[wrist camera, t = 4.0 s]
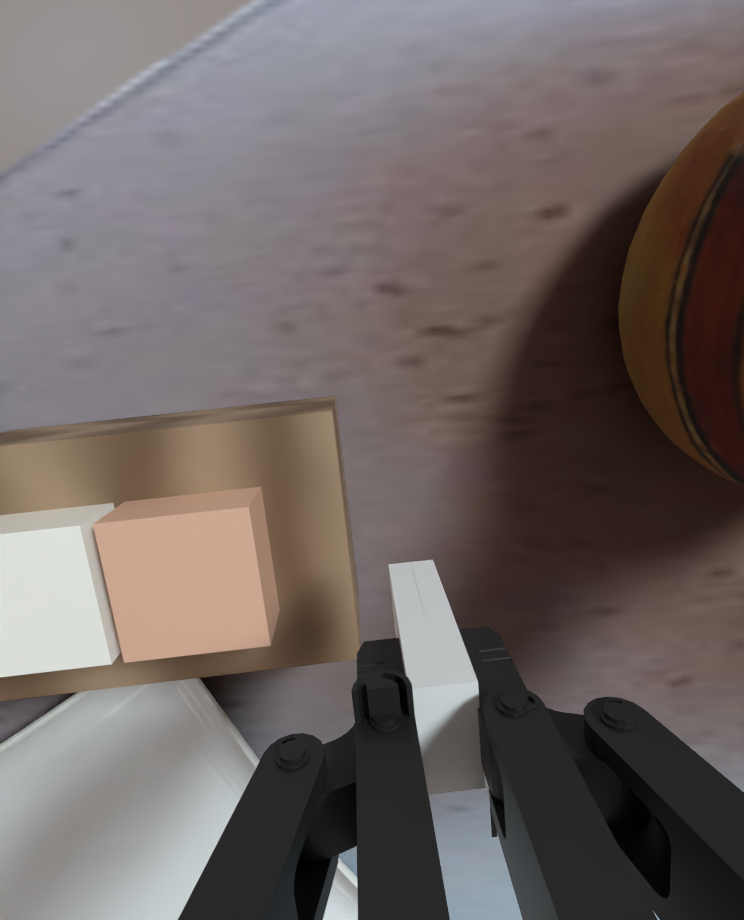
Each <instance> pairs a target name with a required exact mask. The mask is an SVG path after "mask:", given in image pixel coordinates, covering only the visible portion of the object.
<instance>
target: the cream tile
mask: <svg viewBox="0 0 744 920" xmlns="http://www.w3.org/2000/svg"><path fill="white" fill-rule="evenodd" d="M114 509H115V508H114V504H113V503H108V504H99V505H90V506H81V507H71V508H62V509H53V510H44V511H35V512H26V513H17V514H7V515H0V677H8V676H16V675H25V674H34V673H42V672H51V671H59V670H68V669H76V668H85V667H94V666H102V665H111V664H112V663H113V662H114V661H115V659H116V658H117V657H118V655H119V654H120V653H121V647H120V643H119V638H118V634H117V629H116V625H115V620H114V616H113V612H112V607H111V603H110V598H109V594H108V589H107V585H106V581H105V576H104V572H103V567H102V563H101V558H100V554H99V550H98V545H97V541H96V536H95V532H94V527H93V524H94V523H95V522H96V521H98V520H99V519H101V518H102V517H104V516H105V515H106V514H108V513H109V512H111V511H112V510H114Z"/></svg>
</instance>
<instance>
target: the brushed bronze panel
mask: <svg viewBox="0 0 744 920" xmlns="http://www.w3.org/2000/svg"><path fill="white" fill-rule="evenodd" d="M254 487H261V490H262V496H263V503H264V509H265V516H266V523H267V529H268V536H269V542H270V549H271V556H272V562H273V569H274V575H275V582H276V589H277V595H278V602H279V608H280V611H279V615H278V619H277V623H276V627H275V631H274V635H273V639H272V643H271V646H265V647H256V648H248V649H239V650H231V651H222V652H214V653H205V654H196V655H188V656H179V657H171V658H162V659H154V660H145V661H136V662H128V663H124V660H123V656H122V651H121V653H120V654H119V655H118V657H117V658H116V659H115V661H114V662H113V663H112V664H111V665H102V666H94V667H85V668H76V669H68V670H59V671H51V672H42V673H34V674H25V675H16V676H8V677H0V701H7V700H15V699H24V698H32V697H41V696H49V695H58V694H66V693H75V692H83V691H92V690H100V689H109V688H117V687H126V686H134V685H143V684H151V683H160V682H168V681H177V680H185V679H194V678H202V677H211V676H219V675H228V674H236V673H245V672H253V671H262V670H270V669H279V668H287V667H296V666H304V665H313V664H321V663H330V662H338V661H347V660H355V659H357V652H358V651H359V649H360V647H361V645H360V623H359V601H358V587H357V578H356V570H355V561H354V553H353V544H352V535H351V527H350V518H349V509H348V501H347V492H346V483H345V475H344V466H343V458H342V449H341V440H340V432H339V423H338V414H337V406H336V397H335V396H332V397H323V398H314V399H304V400H295V401H285V402H276V403H266V404H257V405H247V406H238V407H228V408H219V409H210V410H200V411H191V412H181V413H172V414H162V415H153V416H143V417H134V418H124V419H115V420H106V421H96V422H87V423H77V424H68V425H58V426H49V427H39V428H30V429H20V430H11V431H7V432H3V433H0V515H7V514H17V513H26V512H35V511H44V510H53V509H62V508H71V507H81V506H90V505H99V504H108V503H113V504H114V508H116V507H118V506H119V505H121V504H122V503H124V502H126V501H135V500H144V499H154V498H163V497H172V496H181V495H190V494H199V493H208V492H218V491H227V490H236V489H245V488H254Z"/></svg>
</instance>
